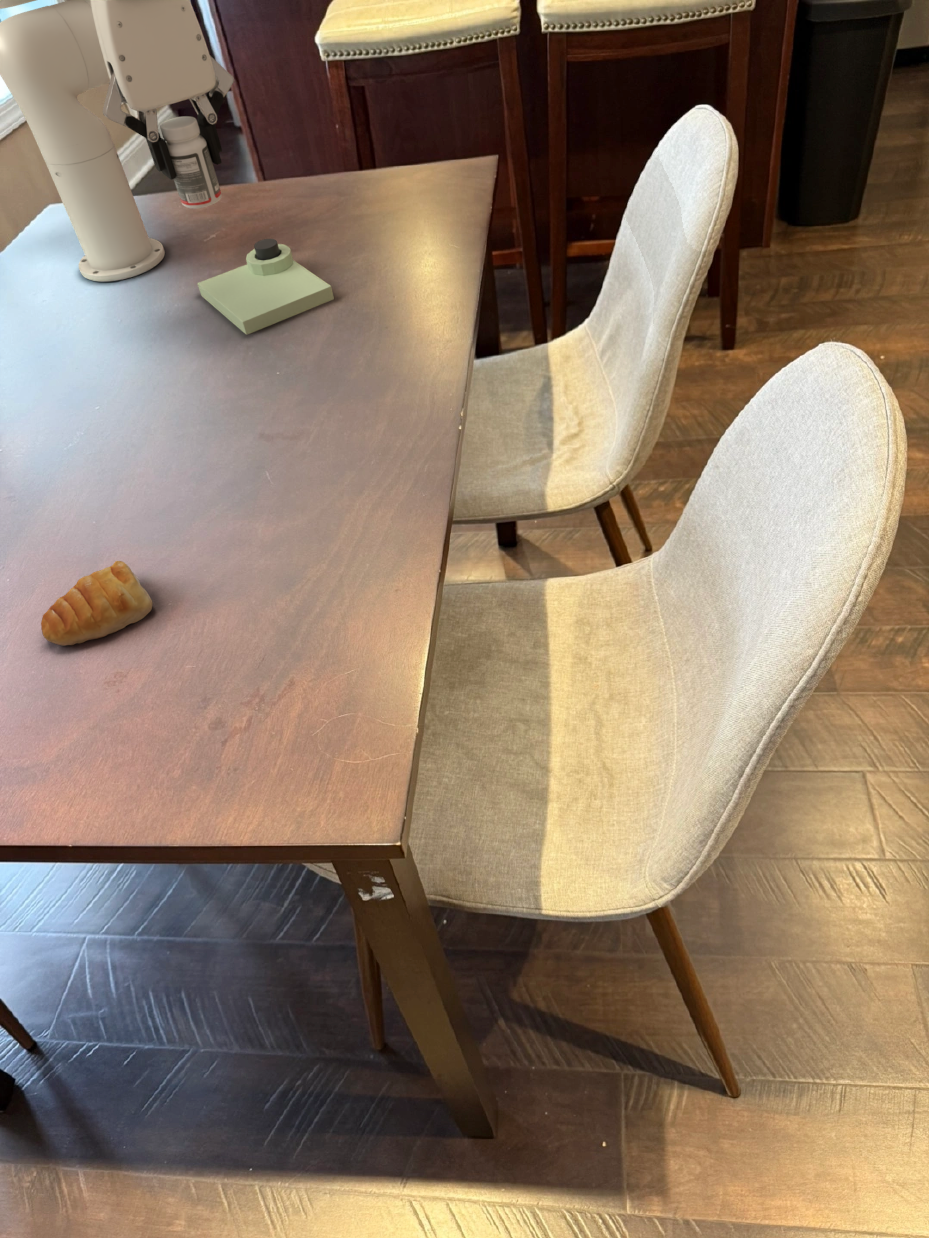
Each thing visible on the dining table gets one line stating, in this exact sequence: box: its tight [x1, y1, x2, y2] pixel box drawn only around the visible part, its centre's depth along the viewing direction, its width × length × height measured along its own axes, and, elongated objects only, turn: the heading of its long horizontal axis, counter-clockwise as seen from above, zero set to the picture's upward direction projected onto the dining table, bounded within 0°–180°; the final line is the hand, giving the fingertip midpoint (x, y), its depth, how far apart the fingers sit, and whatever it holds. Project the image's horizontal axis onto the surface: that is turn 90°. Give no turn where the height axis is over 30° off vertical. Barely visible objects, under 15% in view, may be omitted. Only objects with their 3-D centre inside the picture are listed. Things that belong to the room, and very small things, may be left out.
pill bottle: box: [159, 115, 223, 210], centre depth 97 cm, size 5×5×8 cm
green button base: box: [196, 243, 335, 336], centre depth 116 cm, size 15×13×4 cm
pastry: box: [40, 560, 153, 646], centre depth 76 cm, size 9×7×4 cm
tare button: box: [253, 238, 280, 260], centre depth 118 cm, size 3×3×2 cm
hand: (191, 166), depth 97 cm, fingers closed on pill bottle, 4 cm apart
